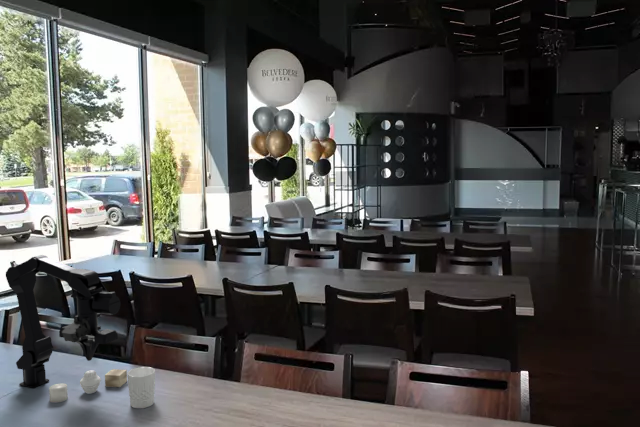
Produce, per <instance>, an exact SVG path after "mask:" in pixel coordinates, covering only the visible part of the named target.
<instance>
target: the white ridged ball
mask: <svg viewBox="0 0 640 427" xmlns="http://www.w3.org/2000/svg"><path fill="white" fill-rule="evenodd" d="M101 381H102V379H101V377H100V376H99V375H98V374H97V372H96V370H93V369H92V370H91V369H90V370H87V371H85V372H84V374H83V376H82V378H81V379H80V381H79V384H80V387H81V388H82V390H83V391H84V393H85V394H88V395H89V394H94V393H96V392H97V391H98V389H99V387H100V384H101Z"/></svg>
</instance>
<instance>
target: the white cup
mask: <svg viewBox="0 0 640 427" xmlns="http://www.w3.org/2000/svg"><path fill="white" fill-rule="evenodd" d="M155 382H156V369H155V368H153V367H150V366H141V367H135V368H132V369H130V370H128V371H127V384H128V395H129V396H128V397H129V402H130V407H132V408H134V409H144V408H149V407H151V406H152V405H154V401H155V392H156V390H155V389H156V388H155V386H156V383H155Z"/></svg>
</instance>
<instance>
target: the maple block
mask: <svg viewBox="0 0 640 427" xmlns="http://www.w3.org/2000/svg"><path fill="white" fill-rule="evenodd" d="M127 373H128V370H127V369H120V368H119V369H117V368H115V369H114V368H112V369H111V370H109V371H108V372H107V373H105V375H104V386H105V387H107V388H108V387H111V388H112V387H113V388H121V387H122V386H123V385H125V383H128V375H127Z"/></svg>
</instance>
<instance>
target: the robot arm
mask: <svg viewBox="0 0 640 427" xmlns="http://www.w3.org/2000/svg"><path fill="white" fill-rule="evenodd" d="M40 272H42V273H44V274H47V275H49V276H51V277H54V278H57V279H59V280H61V281H64V282H66V283H67V285H68V287H70V288H71V289H72V290H74V292H72V294H70V297H71V298H75V299H76V308H77V314H76V315H75V316H74V318H73V322H72V323H69V325H65V326H62V327H60V329H59V335H58V337H59V338H63V339H64V341H65V342H71V343H77V344H78V345H80V348H81V349H82V351H83V354H84V357H85V358H86V361H92V359H93V358H94V354H95V352H96V350H97V348H98V347H99V345H107V344H109V343H111V342H113V341H116V340H118V338H119V336H118V334H119V333H118V332H117V331H116V330H114V329H109V328H105V329H104V330H101V329H102V328H101V327H102V326H100V325H99V323H98V318H100V317H101V315H111V316H112V315H116V314H118V313H119V311H120V309H121V303H122V302H121V300H120V298H119V297H118V296H117V295H116V292H115V291H110V292H109V291H108V289H107V287H105V285H104V283H103V281H102V279H101V278H100V277H99V274H98V272H96V271H95V270H93V269H92V270H91V269H86V268H75V267H72V266H69V265H67V264H65V263H62V262H60V261H57V260H54V259H52V258H50V257H48V256H47V255H43V254H40V255H37V256H36V255H35V256H32V257H30V258H29V259H28V260H26V261H23V262H22V263H20V264H17V265H13V266H10V267H8V268H7V270H6V271H5V278H6V279H5V280H6V281H7V284H8V287H9V288H10V289H11V290H12V291H13V293H15V295H16V299H17V303H18V309H19V313H20V319H21V322H22V327H23V331H24V332H23V333H24V336H25V337H24V340H23V344H22V346H21V348H22V349H21V350H22V355H21V356H20V357H19V359H18V360H17V361H16V362H15V364H16V368H17V369H18V370H22V379H23V381H21V382H20V383H19V386H20V387H21V386H22V387H27V388H31V389H35V388H37V387H39V386H41V385H44V384H46V383H48V382H50V379H48V378H46V377H47V376H46V369H45V367H46V366H45V363H48V362H49V361H50V359H51V356H52V354H53V349H54V346H53V343H52V337H51V336H46V335H45V333H43V330H42V325H41V320H40V315H39V312H38V311H39V310H38V306H37V301H36V296H35V292H34V289H35V286H36V282H37V274H39V273H40ZM99 330H101V331H99Z"/></svg>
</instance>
